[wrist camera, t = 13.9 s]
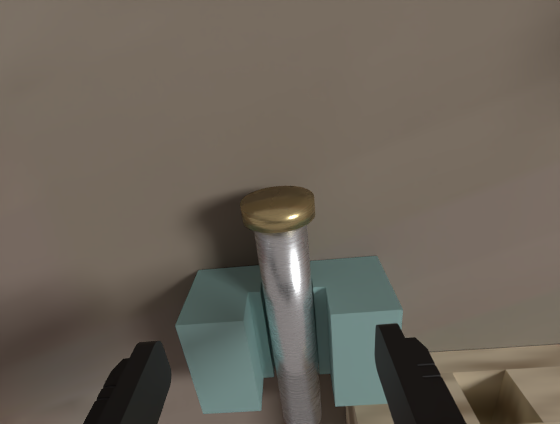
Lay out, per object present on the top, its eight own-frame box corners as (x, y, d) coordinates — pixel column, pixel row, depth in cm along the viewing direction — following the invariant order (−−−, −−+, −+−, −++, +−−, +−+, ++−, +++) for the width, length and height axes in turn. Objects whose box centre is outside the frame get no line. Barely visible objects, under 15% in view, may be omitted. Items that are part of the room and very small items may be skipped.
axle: (238, 192, 19) (241, 220, 15) (304, 181, 19) (322, 207, 16) (273, 394, 26) (280, 445, 23) (320, 384, 27) (335, 433, 23)
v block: (198, 270, 23) (174, 325, 18) (376, 255, 23) (402, 309, 18) (218, 348, 27) (203, 413, 22) (374, 338, 26) (396, 403, 21)
